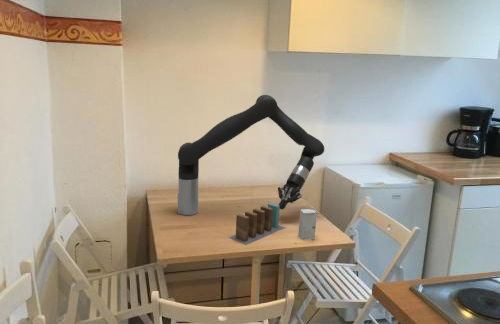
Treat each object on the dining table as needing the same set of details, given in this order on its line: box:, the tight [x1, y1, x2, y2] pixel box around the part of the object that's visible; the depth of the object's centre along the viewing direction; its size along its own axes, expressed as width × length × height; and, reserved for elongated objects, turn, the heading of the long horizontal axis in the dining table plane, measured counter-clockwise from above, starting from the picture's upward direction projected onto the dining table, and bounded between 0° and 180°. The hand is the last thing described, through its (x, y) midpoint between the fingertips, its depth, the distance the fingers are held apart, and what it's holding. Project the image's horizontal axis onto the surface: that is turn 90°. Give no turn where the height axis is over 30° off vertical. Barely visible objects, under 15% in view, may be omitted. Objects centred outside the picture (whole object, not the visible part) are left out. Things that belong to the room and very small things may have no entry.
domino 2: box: [244, 210, 257, 238], centre depth 175 cm, size 2×5×10 cm, turn 48°
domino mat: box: [228, 224, 286, 246], centre depth 180 cm, size 26×10×1 cm, turn 138°
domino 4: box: [259, 205, 272, 232], centre depth 183 cm, size 2×5×10 cm, turn 48°
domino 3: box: [252, 207, 265, 235], centre depth 179 cm, size 2×5×10 cm, turn 48°
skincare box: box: [297, 208, 318, 241], centre depth 176 cm, size 6×4×12 cm
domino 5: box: [267, 202, 281, 228], centre depth 186 cm, size 2×5×10 cm, turn 48°
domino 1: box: [235, 213, 249, 242], centre depth 172 cm, size 2×5×10 cm, turn 48°
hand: (280, 208), depth 189 cm, fingers closed
